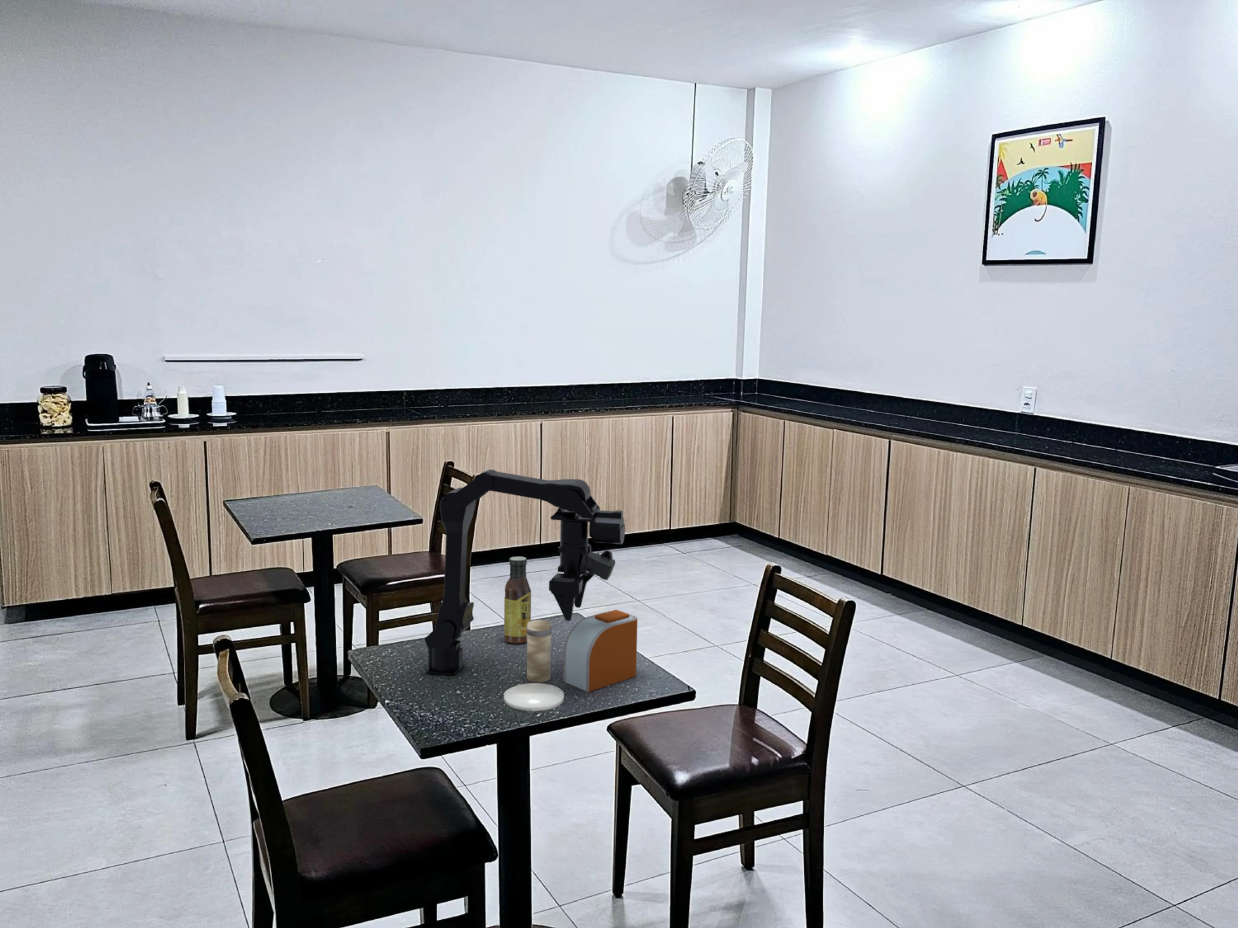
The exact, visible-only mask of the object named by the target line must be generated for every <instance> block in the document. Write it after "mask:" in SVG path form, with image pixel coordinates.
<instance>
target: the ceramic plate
mask: <svg viewBox="0 0 1238 928" xmlns="http://www.w3.org/2000/svg"><path fill="white" fill-rule="evenodd" d="M564 698H565V694H564V691H563V690H562V689H561V688H559V687H557V686H556V685H551V684H548V683H541V682H532V683H531V682H530V683H522V684H518V685H514V686H512V687H510V688H508V689H506V690H505V692H504V693H503V702H504V704H505V705H506V706H508V707H510V708H511V709H514V710H517V711H525V712H541V711H547V710H552V709H554V708H557V707H559V706H560V705H562V704H563V703H564Z"/></svg>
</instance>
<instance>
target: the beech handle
mask: <svg viewBox="0 0 1238 928" xmlns="http://www.w3.org/2000/svg"><path fill="white" fill-rule="evenodd" d="M552 629H553V628H552V623H551V621H549V620H545V619H533V620H531V621H530V622H528V623H527V642H526V644H527V645H526V662H527V663H526V679H527V681H530V682H532V683H544V682H548V681H549V680H551V677H552V676H551V674H552V673H551V672H552V671H551V669H552V668H551V667H552V666H551V665H552V658H551V657H552V655H551V654H552Z"/></svg>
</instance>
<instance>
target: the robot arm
mask: <svg viewBox="0 0 1238 928" xmlns="http://www.w3.org/2000/svg"><path fill="white" fill-rule="evenodd" d="M489 492H494V493H500V494H501V493H502V494H507V495H513V496H518V497H523V498H530V499H535V500H540V501H543V502H546V503H548V504H550V505H552V506H553V507H555V508H557V509H556V511H555V513H553V514H552V515H551V516H550V520H551V521H560V527H559V528H560V531H559V532H560V533H559V534H560V535H559V536H560V537H559V538H560V545H559V546H558V547H557V553H559V554H560V555H559V557H560V558H559V565H558V566H557V573H556V574H554V576H553V577H552V578H551V579H550V580H549V581H548V591H549V592H551V594H552V595H553V597H554V599H555V601H556V603H557V604H558V605H557V606H558V607H559V608H560V611H561V613H562V616H563V618H564V620H565V621H568V622H570V621H572V617H573V613H574V612H573V611H574V607H575V608H580V609H581V607H582V604H583V598H584V595H585V591H586V588H587V583H588V582H589V581H590V580H591V579H592V578H593V577H594V576H596V577H599V578H600V579H601V580H604V581H607V580H609V578H610V577H611V575H612V573H613V570H614V567H615V566H616V559H614V557H613V552H612V551H610V550H608V549H605V550H604V551H603V552H601V553H599V552H597V553H596V552H594V551H592V545H591V543H589V537H590V538H591V540H592V541H594V543H599V544H613V545H614V544H616V545H623V543H624V541H625V534H626V524H625V518H624V515H623V510H602V509H601V507H600V506H599V505H598V503H597V502H596V501H595V499H594V498H593V496H592V495H591V494H592V493H591V489H590V486H589V484H588V483H587V482H586V481H585V480H582V479H579V478H577V479H576V478H564V479H563V478H562V479H542V478H536V477H531V476H527V475H526V476H525V475H519V474H513V473H507V472H502V471H497V470H495V469H487V470H485V471H483V472H481V473H479V475H478V476H477V477H476V478H474V479H473V480H472V481H470V482H469V483H467V484H466V485H464V486H463V487H457V488H455V489H453V490H451V491H450V492H448V493H447V492H446V494H445V495H443V497H441V499H440V500H439V501H440V502H439V510H440V518H441V523H442V525H443V528H444V530H445V551H444V553H445V554H444V555H445V556H444V559H445V560H444V578H443V579H444V580H443V581H444V582H443V583H444V584H443V585H444V586H443V597H442V601H441V603H440V606H439V609H438V612H437V614H436V615H437V616H436V621H435V626H434V627H435V628H434V629H433V630H432V631H431V632H430V633H428V634H427V635H426V636H425V637H424V642H425V645H426V647H427V648H428V649H427V651H428V652H427V653H428V655H427V656H428V667H427V669H425V673H426V674H432V675H433V674H435V675H445V676H446V675H447V676H455V675H456V674H457V673H458V672H459V671H460V670H461V669H462V668H463V666H464V648H463V647H462V646H461V645H462V644H461V643H462V641H461V640H459V638H461V637H462V635H463V633H465V631H466V630H468V629H469V627H470V625H471V622H473V621H474V620H475V618H474V616H473V612H474V611H473V610H474V606H475V603H474V602H472V601H471V602H468V600H467V596H466V580H467V579H466V574H467V573H466V572H467V555H468V554H467V553H468V552H467V551H468V550H467V549H468V531H469V528H470V526H471V523H472V520H473V517H474V512H475V509H476V503H477V501H478V500H479V499H481V498H482V497H484V496H485V495H486V494H487V493H489Z"/></svg>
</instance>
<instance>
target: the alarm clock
mask: <svg viewBox="0 0 1238 928" xmlns="http://www.w3.org/2000/svg"><path fill="white" fill-rule="evenodd" d="M563 646H564V648H563V666H562V667H563V674H562V676H563V677H562V678H563V680H562V681H563V683H566V684H568V685H570V686H573V687H575V688H577V689H580V690H582V691H584V692H587V693H590V692H594V691H596V690H599V689H602V688H604V687H605V688H606V687H608V686H611V685H614V684H617V683H620V682H624V681H625V680H628V679H633V678H635V677H636V675H637V661H638V660H637V657H638V655H637V654H638V653H637V652H638V617H637V616H636V615H632V614H629V613H627V612H624V611H621V610H618V609H614V610H608V611H605V612H601V613H598V614H593V615H589V616H586V617H584V618H582V619H580V620H578V621H577V622H576V623H575V624H574V625H573V626H572V627H571V629H570V630H569V632H568V634H567V636H566V639H565V641H564V645H563Z"/></svg>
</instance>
